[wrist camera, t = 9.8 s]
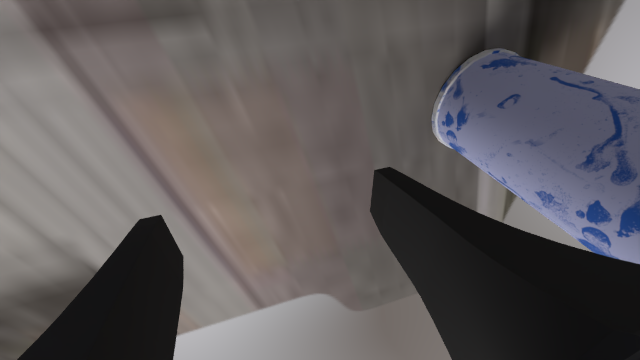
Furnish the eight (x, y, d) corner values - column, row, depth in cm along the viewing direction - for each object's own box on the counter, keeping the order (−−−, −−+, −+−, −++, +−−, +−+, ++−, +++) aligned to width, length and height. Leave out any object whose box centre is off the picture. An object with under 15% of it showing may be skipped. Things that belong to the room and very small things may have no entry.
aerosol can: (522, 111, 24) (1083, 364, 8) (442, 162, 25) (820, 478, 9) (520, 23, 19) (1885, 249, 3) (420, 91, 20) (1157, 518, 4)
